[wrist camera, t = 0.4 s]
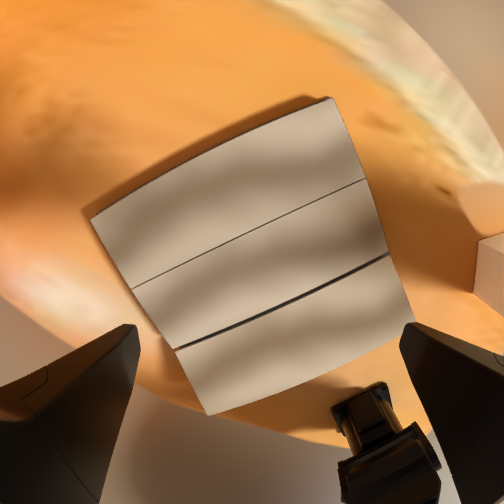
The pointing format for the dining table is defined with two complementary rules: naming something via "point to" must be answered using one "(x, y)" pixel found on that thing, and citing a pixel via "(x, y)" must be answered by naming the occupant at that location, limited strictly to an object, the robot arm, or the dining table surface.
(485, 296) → the milk
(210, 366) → the loose plank
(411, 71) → the dining table surface
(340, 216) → the laid planks
